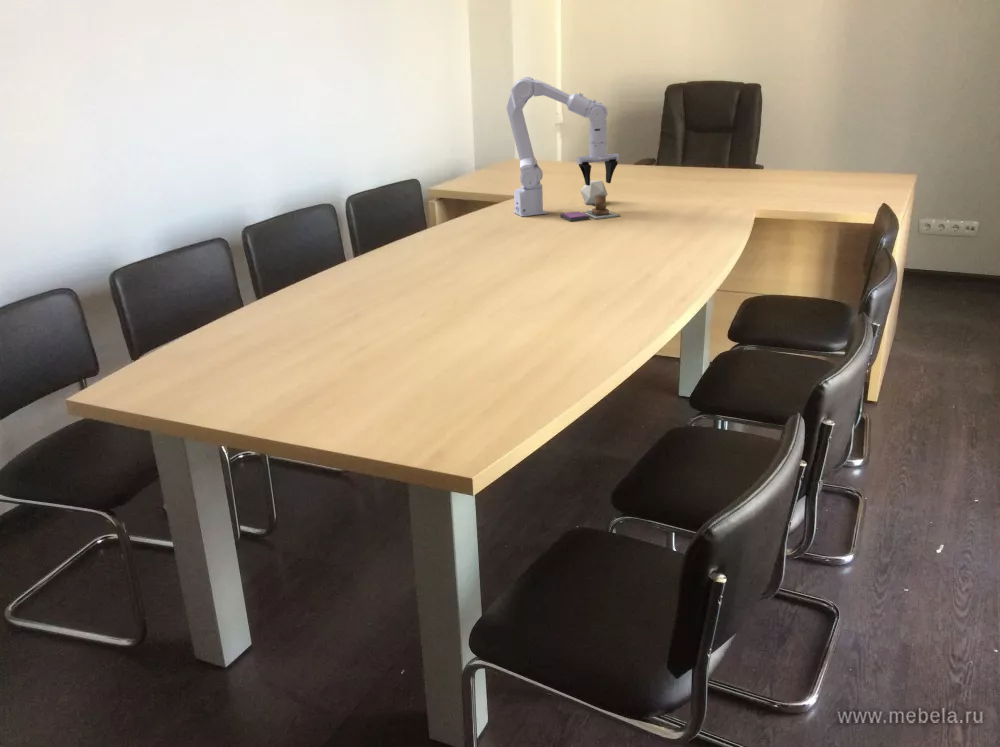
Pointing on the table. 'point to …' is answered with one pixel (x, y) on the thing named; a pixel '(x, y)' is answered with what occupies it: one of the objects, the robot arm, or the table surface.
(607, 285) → the table surface
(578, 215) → the ink pad
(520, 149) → the robot arm
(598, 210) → the stamp
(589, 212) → the grey framed plate
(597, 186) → the die
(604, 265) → the table surface
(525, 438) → the table surface
